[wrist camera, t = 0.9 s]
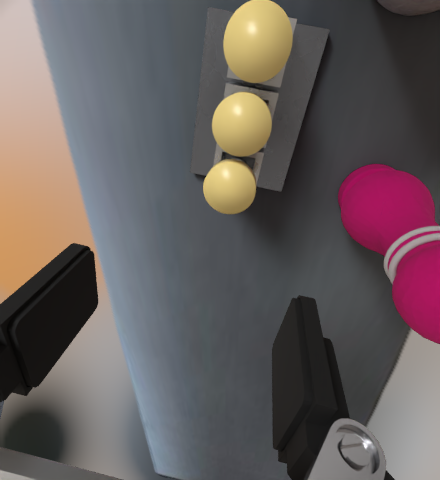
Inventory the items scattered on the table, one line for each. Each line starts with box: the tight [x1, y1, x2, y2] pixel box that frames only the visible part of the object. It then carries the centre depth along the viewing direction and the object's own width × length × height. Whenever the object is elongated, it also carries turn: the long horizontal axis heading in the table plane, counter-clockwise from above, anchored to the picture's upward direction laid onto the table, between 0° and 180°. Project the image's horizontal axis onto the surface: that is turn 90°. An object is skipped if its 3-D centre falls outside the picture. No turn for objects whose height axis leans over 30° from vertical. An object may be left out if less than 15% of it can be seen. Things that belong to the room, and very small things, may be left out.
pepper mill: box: [338, 164, 440, 344], centre depth 21 cm, size 7×7×20 cm
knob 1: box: [223, 0, 293, 83], centre depth 19 cm, size 4×4×6 cm
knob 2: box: [212, 92, 272, 157], centre depth 21 cm, size 4×4×6 cm
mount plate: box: [190, 7, 330, 192], centre depth 25 cm, size 14×10×5 cm
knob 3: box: [203, 157, 256, 214], centre depth 23 cm, size 4×4×6 cm
